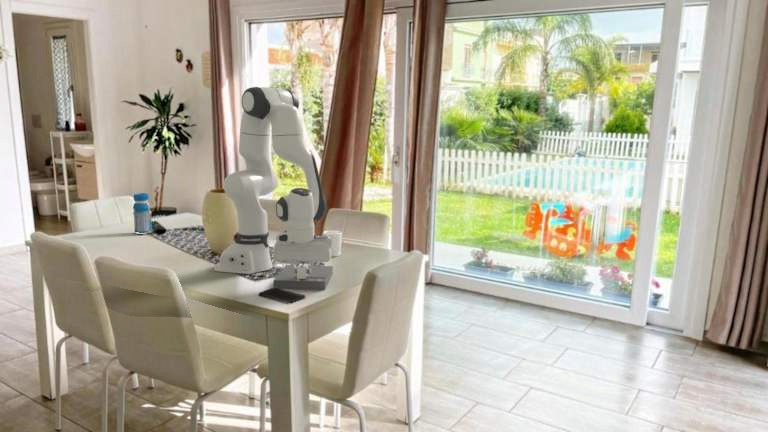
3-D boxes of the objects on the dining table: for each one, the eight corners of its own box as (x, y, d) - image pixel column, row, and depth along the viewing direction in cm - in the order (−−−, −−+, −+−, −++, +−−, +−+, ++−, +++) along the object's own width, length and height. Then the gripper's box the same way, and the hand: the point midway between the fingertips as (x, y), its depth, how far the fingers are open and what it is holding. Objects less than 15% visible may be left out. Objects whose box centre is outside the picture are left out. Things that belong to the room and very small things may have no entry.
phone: (273, 287, 200) (306, 295, 191) (273, 290, 200) (306, 298, 192) (256, 293, 193) (289, 301, 185) (256, 296, 193) (289, 305, 185)
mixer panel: (273, 288, 201) (273, 279, 201) (286, 272, 221) (286, 264, 220) (325, 289, 200) (324, 281, 200) (332, 273, 220) (332, 265, 219)
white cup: (339, 257, 244) (338, 234, 242) (321, 256, 246) (321, 233, 244) (344, 253, 252) (343, 230, 250) (326, 252, 253) (326, 230, 251)
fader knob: (297, 278, 202) (296, 267, 201) (299, 274, 207) (299, 263, 206) (305, 278, 202) (305, 267, 201) (308, 274, 206) (307, 263, 206)
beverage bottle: (141, 236, 282) (138, 195, 278) (130, 234, 286) (128, 194, 283) (156, 233, 289) (153, 193, 285) (145, 231, 293) (143, 192, 290)
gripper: (332, 233, 204) (333, 271, 206) (275, 232, 205) (276, 270, 207) (330, 237, 198) (330, 276, 200) (271, 236, 199) (272, 275, 201)
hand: (302, 273), depth 204 cm, fingers closed on fader knob, 3 cm apart
